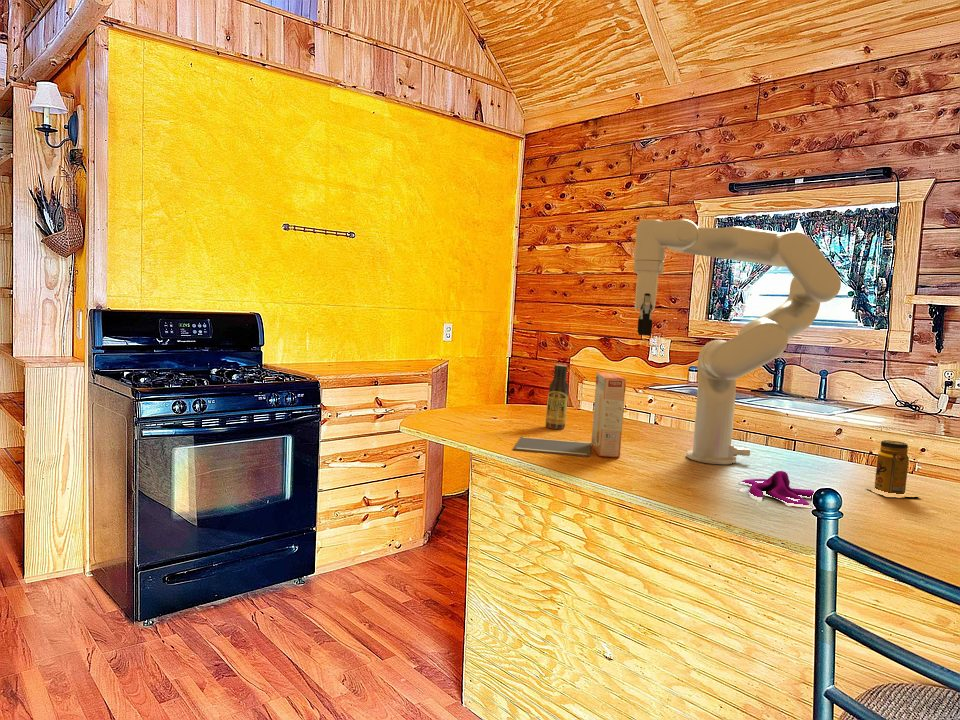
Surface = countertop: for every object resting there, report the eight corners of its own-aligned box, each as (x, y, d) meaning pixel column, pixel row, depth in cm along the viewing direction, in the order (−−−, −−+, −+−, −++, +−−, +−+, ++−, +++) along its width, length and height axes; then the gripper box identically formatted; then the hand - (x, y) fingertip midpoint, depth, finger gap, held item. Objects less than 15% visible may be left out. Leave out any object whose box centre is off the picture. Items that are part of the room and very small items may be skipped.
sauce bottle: (543, 428, 214) (547, 365, 212) (547, 425, 220) (551, 363, 218) (564, 430, 212) (568, 366, 210) (567, 427, 218) (571, 364, 216)
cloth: (746, 480, 166) (748, 455, 165) (831, 497, 154) (834, 470, 154) (713, 499, 148) (715, 471, 148) (806, 520, 137) (809, 489, 136)
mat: (591, 444, 195) (591, 442, 195) (589, 456, 179) (589, 455, 179) (520, 438, 198) (520, 436, 198) (513, 450, 183) (513, 448, 182)
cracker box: (621, 458, 179) (627, 378, 177) (598, 457, 179) (603, 377, 177) (612, 446, 193) (617, 372, 191) (590, 445, 193) (595, 371, 191)
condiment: (865, 489, 160) (870, 438, 159) (899, 490, 161) (904, 439, 160) (886, 498, 153) (892, 445, 152) (922, 499, 154) (928, 446, 153)
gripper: (633, 269, 189) (629, 332, 191) (634, 266, 172) (630, 335, 174) (661, 270, 188) (656, 333, 190) (665, 267, 171) (660, 336, 173)
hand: (644, 334), depth 182 cm, fingers open, 8 cm apart
